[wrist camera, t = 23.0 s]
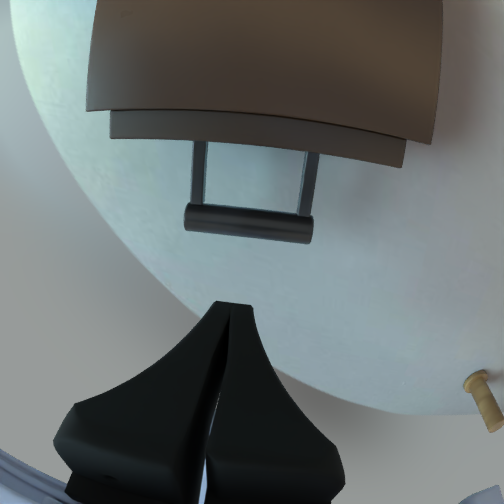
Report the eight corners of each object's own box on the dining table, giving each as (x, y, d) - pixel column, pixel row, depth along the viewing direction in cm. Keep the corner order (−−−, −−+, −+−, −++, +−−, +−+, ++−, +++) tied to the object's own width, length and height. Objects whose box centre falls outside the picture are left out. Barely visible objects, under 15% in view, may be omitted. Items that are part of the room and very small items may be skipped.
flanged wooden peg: (465, 393, 26) (486, 439, 20) (460, 381, 26) (483, 430, 20) (487, 378, 25) (510, 422, 19) (483, 365, 25) (509, 412, 19)
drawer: (346, 224, 19) (375, 277, 13) (159, 203, 19) (113, 246, 13) (376, -41, 11) (413, -87, 5) (183, -58, 11) (149, -107, 6)
